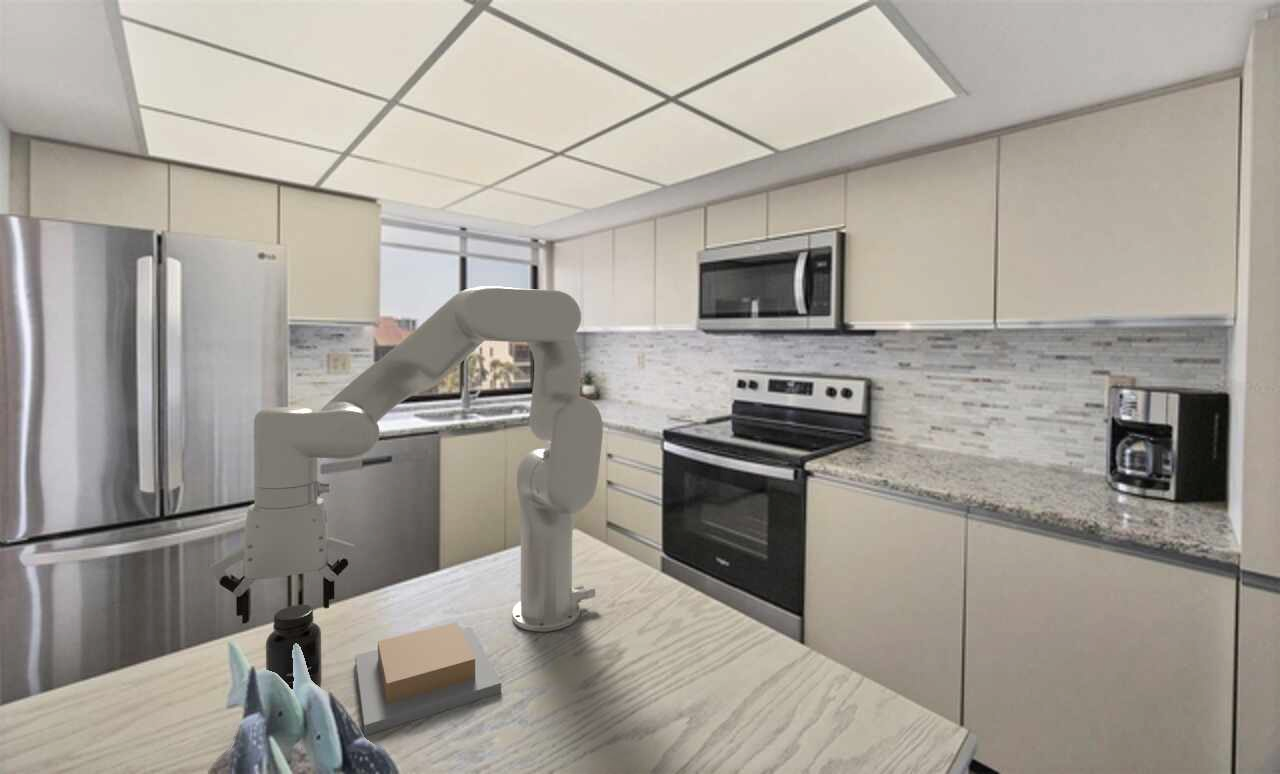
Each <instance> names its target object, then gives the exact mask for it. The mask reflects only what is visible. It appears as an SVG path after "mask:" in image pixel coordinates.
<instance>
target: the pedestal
mask: <svg viewBox="0 0 1280 774" xmlns="http://www.w3.org/2000/svg"><path fill="white" fill-rule="evenodd" d="M460 627H461V626H459V624H458V622H457V621H456V622H452V623H451V622H450V623H447V624H443V625H442V624H441V625H439V626H435V627H431V628H426V629H423V630H417V631H415V632H410V633H405V634H401V635H397V636H394V637H389V638H385V639H382V640H377V649H374V650H369V651H366V652H362V653H358V654H355V655H354V656H355V657H354V659H355V660H354V661H355V671H356V679H357V684H358V685H357V686H358V693H359V700H360V709H361V717H362V722H363V723H362V724H363V733H364V736H365V737H367V736H369V735H373V734H376V733H378V732H382V731H385V730H388V729H391V728H394V727H397V726H401V725H404V724H407V723H410V722H413V721H416V720H419V719H422V718H425V717H429V716H431V715H436V714H438V713H440V712H444V711H447V710H450V709H454V708H458V707H459V706H463V705H466V704H469V703H472V702H475V701H479V700H482V699H485V698H488V697H491V696H495V695H497V694H501V693H502V682H501V680H500V678H499V676H498V674H497V673H496V670H495V669H494V667H493V665H492V663H491V661H490V659H489V657H488V655H487V654H486V652H485V650H484V649H483V646H482V644H481V643H480V641H479V639H478V638H477V637H478V636H477V635H476V633H475V631H474V629H473V628H472V626H471V625H470V626H467V627H463V628H460Z"/></svg>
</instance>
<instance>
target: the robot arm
mask: <svg viewBox="0 0 1280 774" xmlns="http://www.w3.org/2000/svg"><path fill="white" fill-rule="evenodd" d="M580 308H581V307H580V306H579V304H578V303H577V301H576V300H575V298H574V297H572V296H571V295H570V294H568V293H567V292H563V291H562V290H561V291H560V290H556V289H555V290H552V289H538V288H537V289H535V288H534V289H533V288H516V287H504V286H490V285H488V286H486V285H485V286H478V287H473V288H472V287H471V288H467V289H464V290H462V291H459V292H457V293H456V294H455V295H454V296H452V297H451V298H450V299H448V300H447V301H446V302H444V304H443V305H442V306H440V307H439V308H438V309H437V310H436V311H435V312H434V313H433V314H432V315H431V316H430V317H429V318H427V319H426V320H425V321H423V322H422V323H421V324H420V326H418V327H417V328H416V329H415V330H413V331H412V332H411V333H410V334H408V336H407V337H406V338H404V339H403V340H402V341H401V342H399V344H397V345H396V346H395V347H393V348H392V349H391V350H389V351H388V352H387V353H385V354H384V355H383V356H382V357H381V358H380V359H379V360H378V361H376V362H375V363H374V364H372V365H371V366H370V367H369V368H367V369H365V371H363V372H362V373H361V374H360V375H358V376H357V377H355V379H353V380H352V381H351V382H350V383H349V384H348V385H346V387H344V388H342V390H341V391H340V392H339V393H337V394H336V395H335V396H334V397H333V398H332V399H330V401H328V402H327V403H326V404H325V405H324V406H323V407H322V408H321V410H320V411H314V410H312V409H311V408H307V407H303V406H301V407H300V406H279V407H278V406H277V407H269V408H265V409H262V410H260V411H257V413H256V414H255V415H254V418H253V469H254V470H253V474H254V475H253V481H254V485H253V487H254V488H253V493H254V495H253V496H254V501H253V502H254V503H252V504H250V505H249V506H248V509H247V514H246V518H245V524H244V525H245V526H244V532H243V533H244V536H243V547H240V548H239V549H237V550H236V551H233V552H232V553H230V554H228V555H225V556H224V557H222V558H221V559H219V560H217V561H215V562H213V563H212V564H211V566H210V568H209V571H210V572H211V574H212V575H213V576H214V578H215V579H216V580H217V581H218V582H219V585H220V586H221V587H222V588H225V589H226V590H228V591H229V592H231V593H232V595H233V596H234V597H236V599H235V600H236V601H235V602H236V604H235V606H236V607H235V608H236V610H235V611H236V614H235V615H236V617H239V616H240V617H241V618H242V619H241V622H242V624H247V623H249V622H250V618H251V614H252V613H251V612H252V610H251V608H252V607H251V606H252V605H251V603H252V600H251V598H252V597H251V593H252V592H251V585H253V583H254V582H255V581H259V580H260V581H261V580H269V579H275V578H281V577H282V578H283V577H287V576H288V577H289V576H295V575H302V574H307V573H313V572H318V573H319V574H320V575H322V600H323V601H322V605H323V608H324V609H325V610H326V609H329V608H330V600H335V581H336V579H337V577H338V576H339V575H340V574H341V573H342V572H343V571H344V570H345V569H346V568H347V567H348V565H349V563H350V561H351V560H352V558H353V556H354V554H355V552H356V551H357V549H356V545H355V544H353V543H352V542H348V541H344V540H341V539H338V538H335V537H332V536H329V534H328V533H329V530H328V519H327V518H328V517H327V511H326V505H325V502H324V499H323V498H321V497H320V496H321V495H323V494H327V493H330V483H329V482H328V483H323V482H321V481H318V459H331V460H332V459H333V460H335V459H336V460H355V459H359V458H361V457H364V456H366V455H368V454H369V453H370V452H371V451H373V449H374V448H375V447H376V446H377V444H378V441H379V440H380V433H381V432H380V426H379V425H378V423H379V421H380V420H382V419H383V417H385V416H386V415H387V414H388V413H389V412H391V410H392V409H394V408H396V406H398V405H399V404H401V403H402V402H404V401H405V400H407V399H408V398H409V399H410V397H412V396H415V395H417V394H419V393H422V392H425V391H428V390H430V389H432V388H433V387H436V386H438V385H439V384H440V383H441V382H443V381H444V380H445V379H446V378H447V377H448V376H449V375H450V374H452V372H453V371H454V370H455V369H456V368H458V366H459V365H460V364H461V363H462V362H464V361H465V360H466V358H468V357H469V356H470V355H471V354H472V353H473V352H474V351H476V349H478V347H479V346H481V344H482V343H484V342H507V343H508V342H511V343H526V344H527V346H528V348H529V349H530V351H531V353H532V358H533V362H534V363H533V365H534V367H533V368H534V372H533V382H532V383H533V384H532V392H531V401H530V408H529V409H530V410H529V428H530V430H531V432H532V433H533V435H534V436H535V437H536V438H538V439H539V440H541V441H544V442H546V443H549V444H550V448H537V449H533V450H531V451H530V452H527V454H526V455H525V456H524V457H522V459H521V461H520V463H519V465H518V468H517V472H516V488H517V495H518V502H519V509H520V510H519V511H520V601H518V603H516V604H515V605H514V606H513V608H512V611H511V619H512V622H513V623H514V624H515V625H516V626H517V627H519V628H521V629H522V630H527V631H530V632H539V633H541V632H545V633H546V632H553V631H558V630H561V629H564V628H567V627H568V626H571V625H573V624H574V623H575V622H576V621H577V620H578V619H579V617H580V611H581V609H580V604H579V603H581V602H582V601H584V600H588V599H592V598H595V597H596V589H595V587H593V586H591V587H587V588H584V585H583V584H579V585H576V586H573V535H574V534H573V533H574V532H573V529H574V527H573V525H574V523H573V515H575V514H579V513H580V512H582V511H584V510H585V509H586V508H587V507H588V506H589V505H590V504H591V502H592V500H593V498H594V495H595V493H596V489H597V484H598V480H599V471H600V461H601V453H602V447H603V446H602V445H603V444H602V443H603V434H604V425H603V419H602V415H601V412H600V410H599V408H598V407H597V406H596V404H595V403H594V402H592V401H591V400H590V399H588V398H587V397H584V396H581V395H580V393H581V392H580V391H581V379H582V378H581V375H582V373H581V372H582V359H581V353H580V350H579V347H578V346H579V345H578V344H577V342H576V339H575V337H574V335H575V334H576V333H577V331H578V329H579V328H580V325H581V321H582V312H581V309H580ZM329 549H331V550H334V551H338V552H340V553H342V554H341V556H340V557H339V558H338V559H337V560H336V561H335V562H334V563H333V564H332V563H331V562H330V561H328V560H329ZM241 561H242V572H243V574H242V575H241V576H240V578H237V577H236V576H235V575H233V574H232V573H230V572H229V570H228V568H230V567H232V566H233V565H235V564H238V563H239V562H241Z"/></svg>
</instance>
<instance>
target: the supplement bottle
mask: <svg viewBox="0 0 1280 774" xmlns="http://www.w3.org/2000/svg"><path fill="white" fill-rule="evenodd" d="M272 628H273V631H272V632H271V633H270V634H269V635H268V636H267V639H266V642H265V670H269V671H272V672H275V673H277V674H278V675H279V676H280V677H281V678H282V679H283V680H284V681H285V682H286V683H287V684H288V685H289V687H290V688H291V689H293V681H294V677H293V658H292V650H293V645H294V644H295V643H297V644H299V646H300V647H301V650H302V652H303V655H304V658H305V661H306V665H307V668H308V672H309V675H310V678H311V680H312V681H313V682H314V683H315V684H316V685H318V686H319V688H320V687H321V684H322V680H323V679H322V674H323V673H322V668H323V667H322V630H321V628H320V626H319V625H318V624H317V623H315V622H314V609H313V606H311V605H309V604H308V605H307V604H295V605H291V606H287V607H284V608H281V609H279V610H278V611H276V613H274V616H273V627H272Z"/></svg>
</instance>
